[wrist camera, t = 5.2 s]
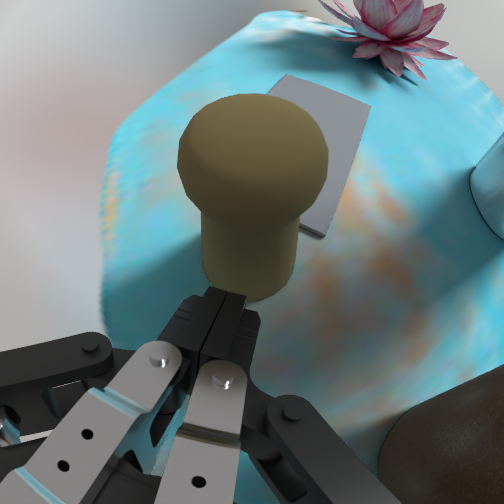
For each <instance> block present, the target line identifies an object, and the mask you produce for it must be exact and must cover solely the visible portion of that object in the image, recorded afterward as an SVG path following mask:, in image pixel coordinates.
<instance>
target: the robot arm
mask: <svg viewBox="0 0 504 504" xmlns="http://www.w3.org/2000/svg"><path fill="white" fill-rule="evenodd" d="M470 186H471V191H472V194H473V197H474V200H475V202H476V204H477V207H478V209H479V211H480V212H481V214H482V216H483V218H484V219H485V221H486V222H487V224H488V225H489V226H490V228H491V229H492V230H493V231H494V232H495V233H496V234H497V235H498V236H499V237H501V238H502V239H504V132H503V134H502V135H501V136H500V137H499V139H498V140H497V141H496V142H495V143H494V145H493V146H492V147H491V148H490V149H489V151H488V152H487V153H486V154H485V155H484V156H483V158H482V159H481V160H480V161H479V162H478V163H477V164H476V169H475V170H474V171H473V172H472V174H471V176H470ZM246 301H247V296H245V295H241V294H238V293H234V292H230V291H229V292H228V291H226V290H222V289H218V288H215V287H211V286H210V287H209V288H208V289H207V291H206V293H205V294H204V296H203V297H200V296H196V295H192V296H191V297H189V298H187V299H185V300H184V301H183V302H182V304H181V305H180V307H179V308H178V310H177V311H176V312H175V314H174V316H173V317H172V318H171V320H170V321H169V323H168V324H167V325H166V327H165V328H164V330H163V331H162V333H161V334H160V336H159V337H158V339H157V340H156V341H151V342H147V343H145V344H143V345H142V346H141V347H140V348H139V349H138V350H137V351H131V350H122V349H115V348H112V345H111V342H110V340H109V339H108V338H107V337H106V336H105V335H103V334H100V333H97V332H86V333H82V334H78V335H74V336H70V337H65V338H61V339H57V340H53V341H49V342H44V343H40V344H35V345H31V346H26V347H22V348H17V349H12V350H8V351H3V352H0V504H236V503H235V502H233V498H234V491H235V484H236V477H237V470H238V463H239V456H240V450H242V451H244V452H246V453H248V455H249V458H250V460H251V461H252V463H253V464H254V466H255V467H256V469H257V470H258V472H259V473H260V475H261V476H262V478H263V479H264V481H265V482H266V483H267V485H268V486H269V488H270V489H271V491H272V492H273V493H274V495H275V496H276V497H277V499H278V500H279V501H280V503H281V504H402V503H401V502H400V501H399V500H398V499H397V498H396V497H395V496H394V495H393V494H392V493H391V492H390V491H389V490H388V489H387V488H386V487H385V486H384V485H383V484H382V483H381V482H380V481H379V480H378V479H377V478H376V476H375V475H374V474H373V473H372V472H371V471H370V470H369V469H368V468H367V467H366V466H365V465H364V464H363V463H362V462H361V460H360V459H359V458H358V457H357V456H356V455H355V454H354V453H353V452H352V451H351V449H350V448H349V447H348V446H347V445H346V444H345V443H344V442H343V441H342V439H341V438H340V437H339V436H338V435H337V434H336V433H335V431H334V430H333V429H332V428H331V427H330V426H329V424H328V423H327V422H326V421H325V420H324V419H323V417H322V416H321V415H320V414H319V413H318V412H317V410H316V409H315V408H314V407H313V406H312V405H311V404H310V403H309V402H308V401H307V400H305V399H304V398H302V397H299V396H296V395H282V396H279V397H276V398H274V397H272V396H270V395H268V394H266V393H264V392H262V391H261V390H259V389H258V388H257V387H256V386H255V385H254V384H253V382H252V380H251V378H250V374H249V370H250V366H251V361H252V357H253V353H254V349H255V344H256V340H257V336H258V331H259V327H260V323H261V320H260V318H259V315H258V312H256V311H252V310H248V309H245V305H246ZM79 380H81V381H79ZM76 381H79V382H76ZM72 382H75V383H72ZM68 383H71V384H68ZM64 384H68V385H64ZM60 385H64V386H60ZM57 386H60V387H57ZM53 387H56V388H53ZM186 395H190V396H191V398H190V401H189V404H188V407H187V411H186V414H185V417H184V420H183V423H182V425H181V427H179V428H178V430H177V432H176V435H175V438H174V441H173V444H172V447H171V450H170V453H169V457H168V460H167V463H166V466H165V470H164V473H163V476H162V477H160V476H154V475H150V473H151V472H152V470H153V468H154V465H155V462H156V458H157V454H158V451H159V449H160V447H161V446H162V444H163V442H164V440H165V439H166V437H167V435H168V433H169V431H170V430H171V428H172V426H173V424H174V422H175V421H176V419H177V417H178V415H179V413H180V411H181V406H182V404H183V401H184V399H185V397H186ZM52 429H54V430H53V431H52V433H51V434H50V435H49V436H48V437H43V438H39V439H35V440H31V441H27V442H23V443H21V442H20V439H19V437H20V436H25V435H30V434H35V433H40V432H44V431H48V430H52Z"/></svg>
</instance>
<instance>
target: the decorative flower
mask: <svg viewBox="0 0 504 504" xmlns="http://www.w3.org/2000/svg"><path fill="white" fill-rule="evenodd" d="M333 1H334V2H335V4H336V5H337V6H338V7H339V8H340V10H341V11H342V12H344V13H345V14H346V15H347V16H349V17H350V18H351V19H352V20H351V19H349V18H348V17H345V16H344V15H342V14H340V13H338V12H337V11H335V10H334V9H332V8H331V7H330V6H328V5H327V4H325V3H323V2H322V1H321V0H319V2H320V3H321V4H322V5H323V7H324V8H325V9H327V10H328V11H329V12H330V13H332V14H333V15H334V16H335V17H337V18H338V19H340V20H342V21H344V22H346V23H347V24H349V25H351V26H352V27H353V29H354V30H355V31H356V32H358V33H354V32H345V31H342V30H338V29H337V30H338V31H340V32H342V33H345V34H350V35H355V36H357V37H348V38H329V39H333V40H336V41H339V42H362V43H360V44H357V45H359V47H357V48H355V49H354V50H356V51H355V53H354V54H353V56H352V57H354V58H365V60H367V59H370V58H373V57H376V56H377V55H378V54H379V55H380V57H381V60H382V64H383V66H384V68H385V69H387V67H388V68H389V69H390V70H391V71H392V72H393V73H394V74H395V75H396V76H398V77H400V76H401V75H402V71H403V66H405V67H406V68H408V69H409V70H411V71H412V72H413V73H415V74H416V75H418V76H419V77H420V78H422V79H424V80H426V81H427V79H426V77H425V76H424V74H423V73H422V72H421V70H420V69H419V67H418V66H417V65H419V66H422V67H424V65H422V64H421V63H420V62H419V61H417V60H416V59H415V58H414V57H413V56H411V55H414V56H419V57H424V58H428V59H439V60H452V59H458V58H457V57H453V56H450V55H447V54H445V53H442V52H439V51H436V50H440V49H442V48H444V47H445V46H447V45H449V43H448V42H444V41H440V40H436V39H432V38H428V37H425V36H426V35H428V34H429V33H430V32H431V31H432V30H433V28H434V27H435V25H436V24H437V22H438V21H439V20H441V18H442V16H443V14H444V12H445V9H446V8H445V9H443V8H444V4H442V3H441V4H438V5H435V6H432V7H429V8H425V9H424V6H423V0H394V1H393V0H353V1H354V5H355V7H356V9H357V10H358V12H359V14H360V16H361V20H362V21H361V20H360V19H359V18H358V17H356V16H355V15H354V14H353V13H351V12H350V11H349V10H348V9H346V8H345V7H344V6H343V5H342V4H341V3H339V1H337V0H333ZM416 64H417V65H416Z"/></svg>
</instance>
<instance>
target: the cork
mask: <svg viewBox="0 0 504 504" xmlns="http://www.w3.org/2000/svg"><path fill="white" fill-rule="evenodd" d="M328 159H329V149H328V146H327V144H326V141H325V138H324V135H323V133H322V131H321V129H320V127H319V125H318V124H317V122H316V121H315V120H314V119H313V118H312V116H311V115H310V114H309V113H308V112H307V111H305V110H304V109H302V108H301V107H299V106H298V105H296V104H295V103H292V102H290V101H287V100H285V99H282V98H279V97H276V96H271V95H265V94H237V95H233V96H229V97H224V98H221V99H219V100H216V101H214V102H212V103H210V104H208V105H206V106H205V107H203V108H202V109H201V110H200V111H199V112H198V113H196V114H195V115H194V116H193V117H192V119H191V121H190V122H189V124H188V126H187V127H186V129H185V131H184V133H183V134H182V136H181V138H180V141H179V150H178V161H177V169H178V172H179V175H180V178H181V181H182V184H183V187H184V189H185V192H186V195H187V196H188V198H189V199H190V200H191V201H192V202H193V203H194V204H195V205H196V207H197V208H198V209H199V210H200V211H201V236H202V264H203V268H204V271H205V273H206V276H207V278H208V280H209V281H210V282H211V283H212V285H213V286H214V287H215V288H218V289H222V290H226V291H228V292H229V291H230V292H234V293H238V294H241V295H245V296H247V301H257V300H262V299H265V298H267V297H269V296H272V295H274V294H275V293H277V292H278V291H279V290H280V289H281V288H282V287H283V286H285V285H286V283H287V281H288V280H289V278H290V276H291V274H292V273H293V268H294V262H295V256H296V248H297V240H298V231H299V223H300V215H302V214H303V213H304V212H305V211H307V210H308V209H309V208H310V207H311V206H312V205H313V204H314V202H315V200H316V199H317V197H318V195H319V193H320V192H321V190H322V188H323V186H324V184H325V181H326V179H327V172H328Z"/></svg>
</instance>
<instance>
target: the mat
mask: <svg viewBox="0 0 504 504" xmlns="http://www.w3.org/2000/svg"><path fill="white" fill-rule="evenodd" d="M267 95H271V96H276V97H279V98H282V99H285V100H287V101H290V102H292V103H295V104H296V105H298V106H299V107H301V108H302V109H304V110H305V111H307V112H308V113H309V114H310V115H311V116H312V118H313V119H314V120H315V121H316V122H317V124H318V125H319V127H320V129H321V131H322V133H323V135H324V138H325V141H326V144H327V146H328V149H329V159H328V172H327V179H326V181H325V184H324V186H323V188H322V190H321V192H320V193H319V195H318V197H317V199H316V200H315V202H314V204H313V205H312V206H311V207H310V208H309V209H308V210H307V211H305V212H304V213H303V214H302V215H300V223H299V226H301V227H303V228H305V229H307V230H309V231H312V232H314V233H316V234H318V235H320V236H322V237H325V235H326V233H327V230H328V228H329V225H330V223H331V220H332V218H333V215H334V212H335V210H336V207H337V205H338V202H339V199H340V197H341V194H342V191H343V189H344V186H345V183H346V180H347V177H348V175H349V172H350V169H351V166H352V163H353V160H354V158H355V155H356V152H357V149H358V146H359V143H360V140H361V137H362V133H363V130H364V127H365V124H366V121H367V118H368V114H369V111H370V108H371V106H369V105H367V104H365V103H363V102H360V101H358V100H356V99H353V98H351V97H349V96H346V95H344V94H341V93H339V92H336V91H334V90H331V89H329V88H326V87H323V86H320V85H318V84H315V83H312V82H309V81H306V80H303V79H300V78H297V77H293V76H290V75H287V74H286V75H285V76H284V77H283V78H282V79H281V80H280V81H279V82H278V83H277V84H276V85H275V86H274V87H273V88H272V89H271V91H270V92H269V93H268V94H267Z"/></svg>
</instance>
